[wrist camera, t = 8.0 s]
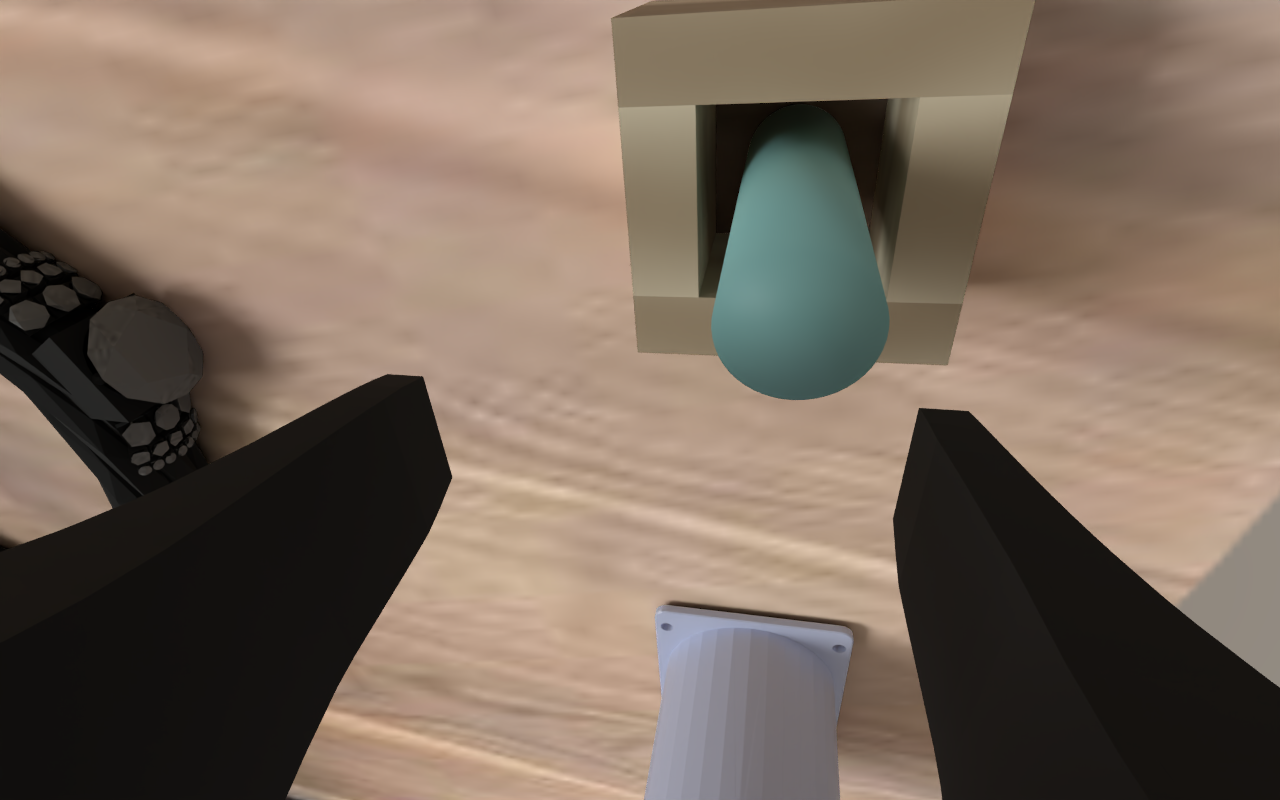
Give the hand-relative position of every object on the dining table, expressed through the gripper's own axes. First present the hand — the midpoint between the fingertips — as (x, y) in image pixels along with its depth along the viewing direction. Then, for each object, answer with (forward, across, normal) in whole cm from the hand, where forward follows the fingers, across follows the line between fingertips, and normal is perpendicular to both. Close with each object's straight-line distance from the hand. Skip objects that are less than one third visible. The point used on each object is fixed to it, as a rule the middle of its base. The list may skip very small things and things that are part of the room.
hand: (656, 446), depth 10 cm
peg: (+10, -2, -2) cm, 10 cm away
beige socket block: (+10, -2, -2) cm, 10 cm away
